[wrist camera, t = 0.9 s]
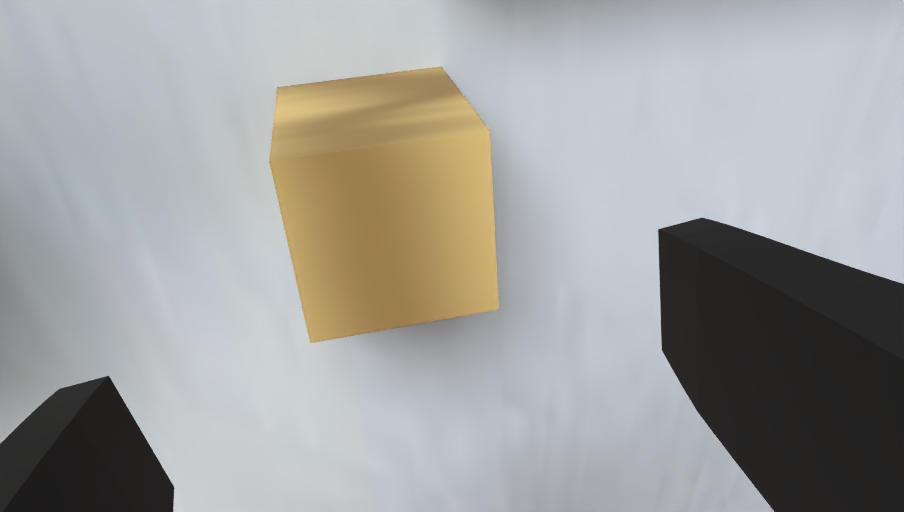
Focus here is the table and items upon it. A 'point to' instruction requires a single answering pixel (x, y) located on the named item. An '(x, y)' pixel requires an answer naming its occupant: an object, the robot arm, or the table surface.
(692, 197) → the table surface
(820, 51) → the table surface
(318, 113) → the mustard block
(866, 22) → the table surface
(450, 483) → the table surface
